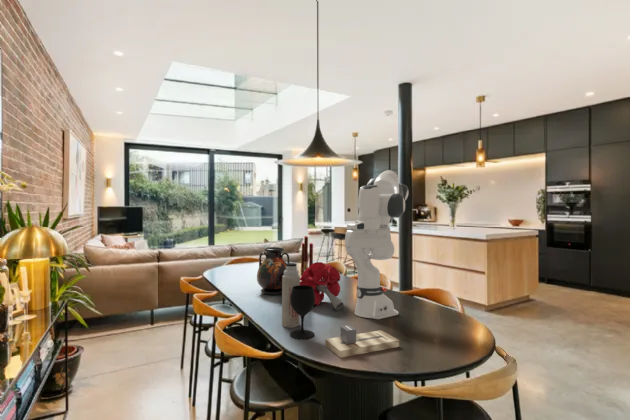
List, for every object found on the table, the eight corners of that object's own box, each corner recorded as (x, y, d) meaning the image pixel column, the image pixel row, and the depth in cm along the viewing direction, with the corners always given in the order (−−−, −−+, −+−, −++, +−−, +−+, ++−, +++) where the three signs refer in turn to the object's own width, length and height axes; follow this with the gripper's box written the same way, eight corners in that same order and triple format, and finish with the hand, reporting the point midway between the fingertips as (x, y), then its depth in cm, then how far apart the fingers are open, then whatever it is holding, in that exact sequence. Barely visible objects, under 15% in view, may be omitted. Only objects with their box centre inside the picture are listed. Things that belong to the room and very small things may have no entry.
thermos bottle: (301, 326, 156) (301, 264, 156) (283, 328, 154) (284, 265, 154) (297, 321, 164) (297, 261, 164) (280, 322, 162) (281, 262, 162)
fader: (349, 338, 136) (349, 325, 136) (356, 342, 131) (356, 329, 131) (340, 339, 134) (340, 326, 134) (346, 344, 130) (347, 330, 130)
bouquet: (348, 316, 194) (318, 281, 214) (362, 283, 184) (329, 250, 204) (318, 326, 181) (288, 289, 200) (331, 292, 171) (299, 256, 190)
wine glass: (314, 330, 152) (314, 284, 152) (314, 339, 141) (315, 290, 141) (290, 330, 152) (290, 284, 151) (289, 339, 141) (289, 290, 141)
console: (381, 336, 146) (381, 330, 146) (399, 346, 135) (399, 340, 135) (325, 345, 135) (325, 338, 135) (340, 357, 124) (340, 350, 124)
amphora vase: (253, 296, 208) (253, 250, 208) (260, 288, 230) (260, 246, 229) (289, 297, 207) (289, 250, 207) (292, 289, 229) (293, 246, 229)
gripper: (385, 224, 148) (385, 256, 148) (343, 224, 139) (342, 259, 140) (394, 225, 142) (394, 258, 142) (351, 225, 134) (350, 261, 134)
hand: (368, 259), depth 141 cm, fingers closed
